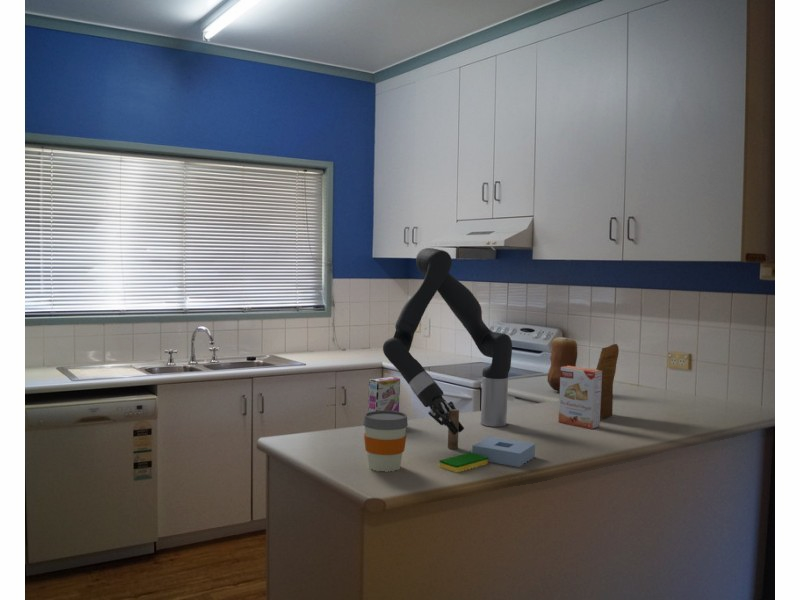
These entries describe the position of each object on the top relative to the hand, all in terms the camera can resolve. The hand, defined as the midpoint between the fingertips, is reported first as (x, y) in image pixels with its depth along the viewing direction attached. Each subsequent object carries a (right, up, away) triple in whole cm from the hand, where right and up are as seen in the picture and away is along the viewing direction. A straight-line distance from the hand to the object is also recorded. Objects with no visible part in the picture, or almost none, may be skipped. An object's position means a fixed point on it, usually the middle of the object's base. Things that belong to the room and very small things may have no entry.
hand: (459, 431), depth 228 cm
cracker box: (+47, -5, +38) cm, 60 cm away
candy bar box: (-24, -3, +30) cm, 39 cm away
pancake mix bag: (+59, -4, +51) cm, 79 cm away
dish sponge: (0, -7, -17) cm, 19 cm away
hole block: (+13, -6, -8) cm, 16 cm away
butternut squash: (+55, -1, +101) cm, 115 cm away
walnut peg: (-2, -5, +1) cm, 6 cm away
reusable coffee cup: (-23, -6, -21) cm, 32 cm away
